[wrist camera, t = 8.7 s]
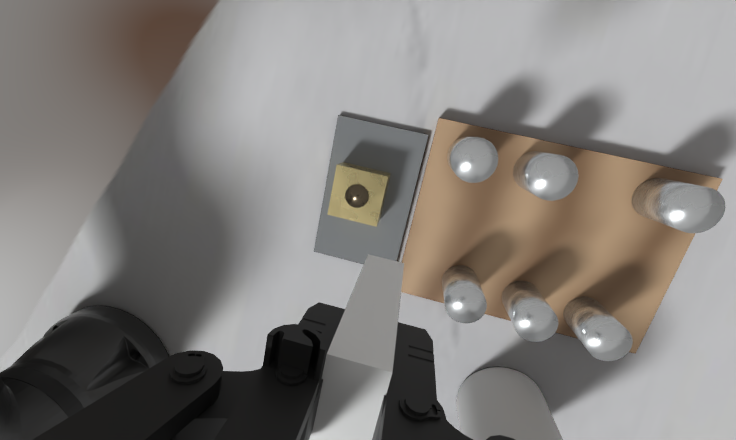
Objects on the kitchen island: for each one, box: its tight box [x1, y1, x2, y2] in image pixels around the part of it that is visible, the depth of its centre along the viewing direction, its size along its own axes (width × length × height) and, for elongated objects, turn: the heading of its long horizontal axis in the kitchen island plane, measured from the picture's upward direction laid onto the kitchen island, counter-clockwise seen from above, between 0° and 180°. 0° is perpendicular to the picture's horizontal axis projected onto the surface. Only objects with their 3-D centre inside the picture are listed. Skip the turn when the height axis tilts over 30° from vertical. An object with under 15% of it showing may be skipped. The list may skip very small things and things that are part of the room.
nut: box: [327, 162, 391, 227], centre depth 30 cm, size 4×4×3 cm
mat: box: [314, 115, 428, 264], centre depth 32 cm, size 8×13×1 cm, turn 168°
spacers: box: [442, 136, 725, 361], centre depth 27 cm, size 18×14×4 cm
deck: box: [401, 118, 722, 353], centre depth 30 cm, size 22×16×1 cm
